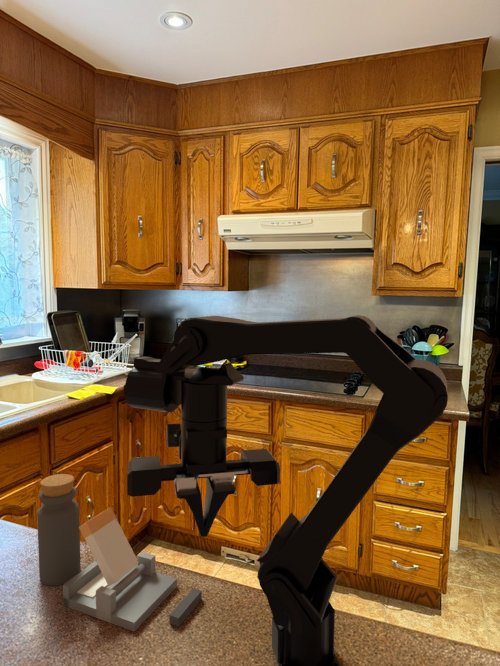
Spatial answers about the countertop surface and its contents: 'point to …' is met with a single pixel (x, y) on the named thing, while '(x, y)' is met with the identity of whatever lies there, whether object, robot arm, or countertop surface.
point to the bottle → (58, 530)
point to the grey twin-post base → (130, 605)
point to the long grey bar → (185, 607)
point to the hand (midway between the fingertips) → (203, 535)
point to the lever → (111, 550)
